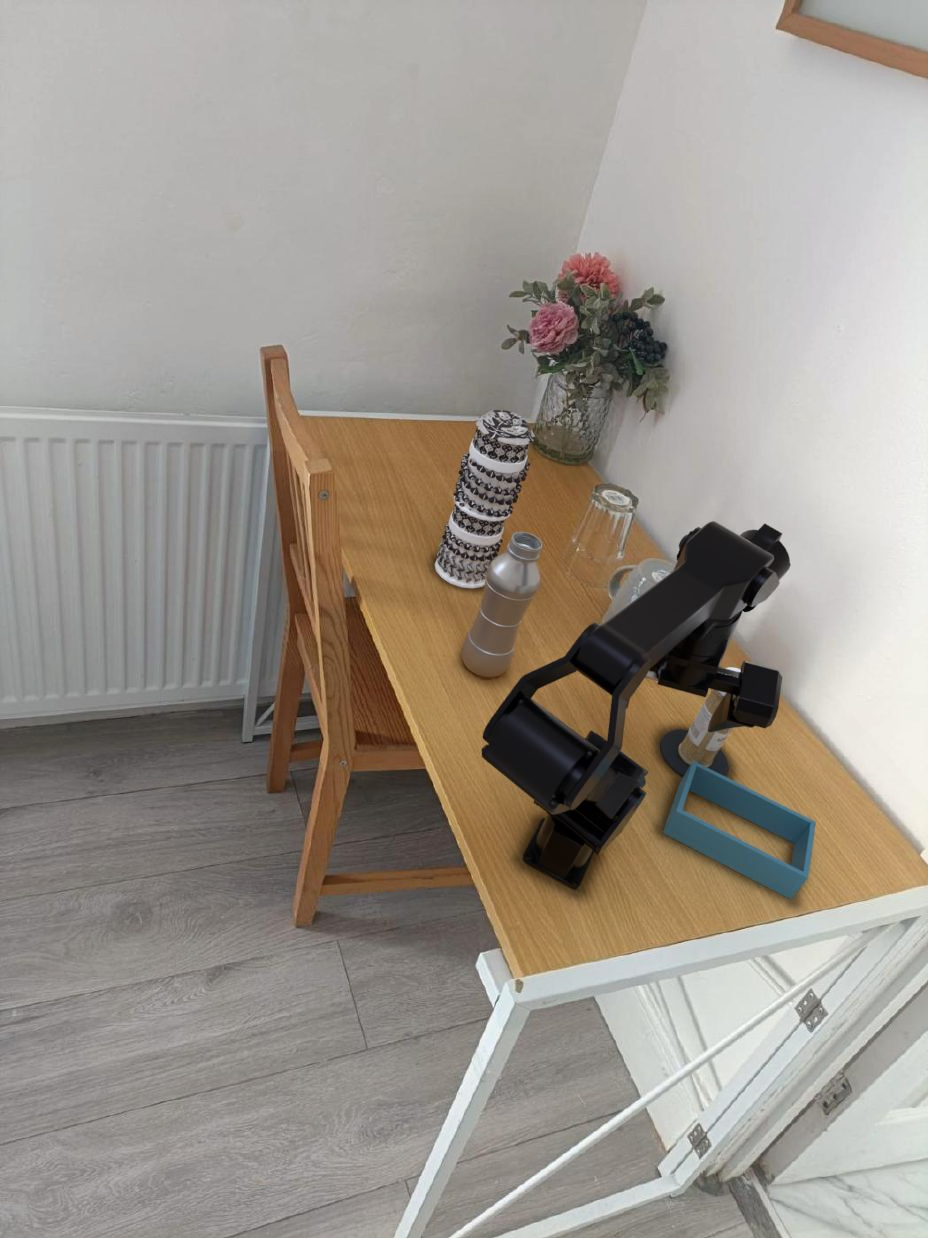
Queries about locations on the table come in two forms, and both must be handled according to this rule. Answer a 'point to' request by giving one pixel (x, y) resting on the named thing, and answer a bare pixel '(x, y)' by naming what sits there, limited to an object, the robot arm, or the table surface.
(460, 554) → the white patterned cylinder
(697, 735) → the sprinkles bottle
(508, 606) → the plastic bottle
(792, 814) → the blue open rectangular frame
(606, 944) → the table surface
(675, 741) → the coaster
